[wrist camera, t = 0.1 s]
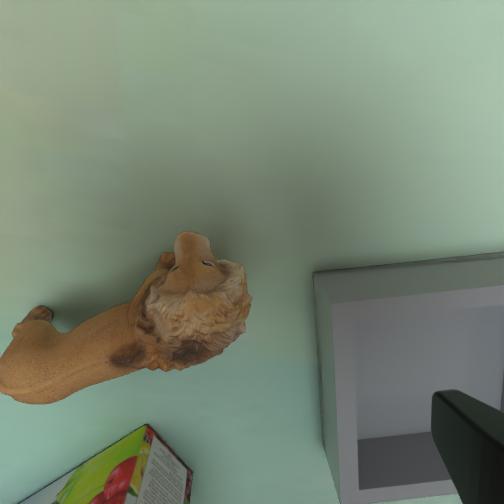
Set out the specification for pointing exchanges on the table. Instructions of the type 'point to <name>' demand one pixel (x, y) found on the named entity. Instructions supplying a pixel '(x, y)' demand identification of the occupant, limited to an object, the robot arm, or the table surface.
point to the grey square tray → (403, 367)
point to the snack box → (124, 476)
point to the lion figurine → (133, 328)
